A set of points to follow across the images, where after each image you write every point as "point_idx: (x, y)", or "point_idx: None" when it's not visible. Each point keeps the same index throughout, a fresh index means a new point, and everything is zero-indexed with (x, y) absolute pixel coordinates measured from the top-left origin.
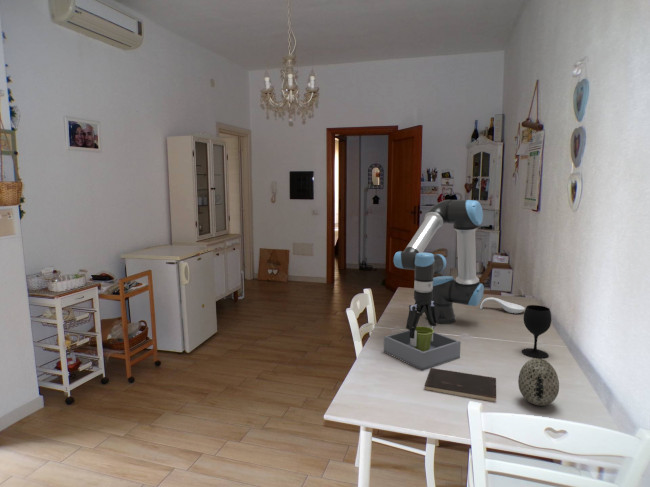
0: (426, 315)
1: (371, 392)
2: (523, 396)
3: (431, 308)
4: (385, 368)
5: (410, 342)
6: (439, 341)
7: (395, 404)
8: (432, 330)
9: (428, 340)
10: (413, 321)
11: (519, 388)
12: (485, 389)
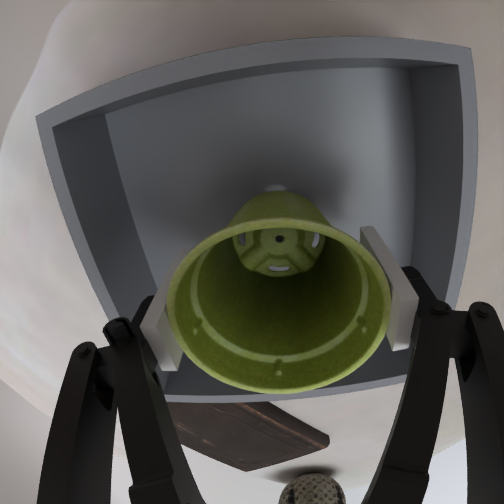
0: (396, 423)
1: (14, 347)
2: (289, 483)
3: (488, 485)
4: (52, 268)
5: (175, 259)
6: (432, 244)
7: (54, 395)
8: (362, 353)
9: (283, 336)
10: (109, 445)
11: (288, 491)
12: (251, 461)
